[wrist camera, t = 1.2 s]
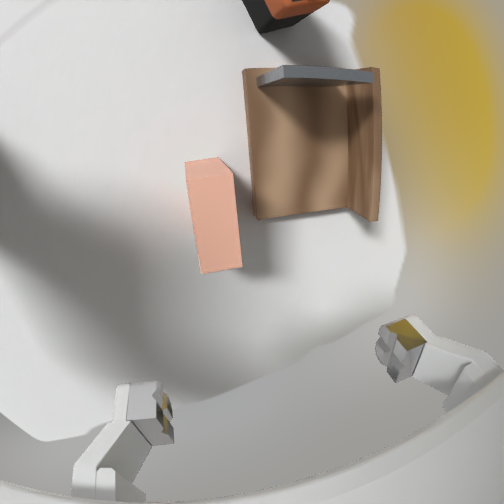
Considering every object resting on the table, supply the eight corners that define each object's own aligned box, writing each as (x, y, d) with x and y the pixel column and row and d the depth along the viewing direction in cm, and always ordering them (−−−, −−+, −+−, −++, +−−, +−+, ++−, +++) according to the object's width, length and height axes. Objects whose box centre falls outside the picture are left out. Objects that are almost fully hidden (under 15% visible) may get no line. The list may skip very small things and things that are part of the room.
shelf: (254, 215, 33) (270, 238, 27) (242, 70, 26) (258, 59, 20) (348, 202, 35) (377, 220, 29) (345, 73, 28) (379, 68, 22)
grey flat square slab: (256, 87, 25) (284, 77, 18) (256, 77, 25) (283, 65, 18) (330, 87, 27) (374, 83, 20) (329, 78, 26) (373, 72, 19)
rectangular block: (195, 234, 32) (201, 275, 25) (184, 162, 29) (185, 180, 21) (226, 229, 33) (243, 267, 25) (218, 157, 29) (233, 172, 21)
